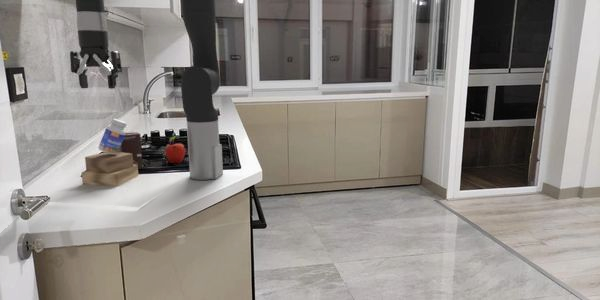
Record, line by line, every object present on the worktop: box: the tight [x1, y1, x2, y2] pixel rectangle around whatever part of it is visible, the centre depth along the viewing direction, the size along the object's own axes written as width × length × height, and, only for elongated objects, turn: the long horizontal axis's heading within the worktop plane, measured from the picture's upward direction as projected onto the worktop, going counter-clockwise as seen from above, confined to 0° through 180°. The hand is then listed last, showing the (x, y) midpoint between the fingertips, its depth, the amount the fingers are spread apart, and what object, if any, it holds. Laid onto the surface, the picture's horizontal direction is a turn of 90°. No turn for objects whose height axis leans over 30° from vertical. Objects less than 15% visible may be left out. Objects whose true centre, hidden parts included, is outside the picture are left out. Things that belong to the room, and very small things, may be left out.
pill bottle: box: [98, 118, 128, 155], centre depth 122 cm, size 5×5×10 cm
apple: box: [164, 135, 187, 164], centre depth 143 cm, size 8×7×10 cm
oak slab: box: [81, 164, 140, 187], centre depth 124 cm, size 11×11×4 cm
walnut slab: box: [84, 151, 134, 174], centre depth 123 cm, size 9×9×4 cm
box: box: [119, 131, 143, 169], centre depth 134 cm, size 6×4×12 cm
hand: (98, 88), depth 120 cm, fingers open, 8 cm apart
